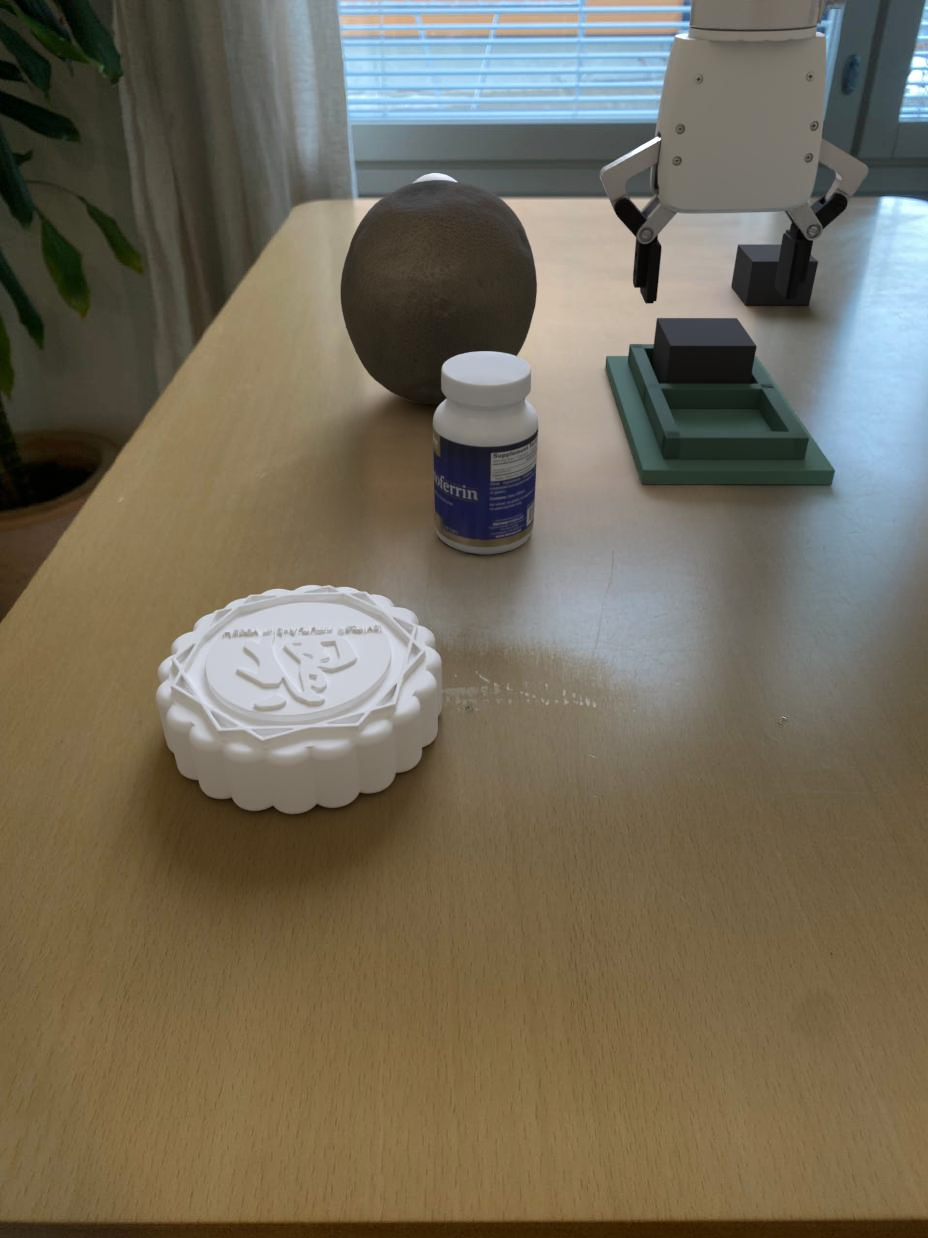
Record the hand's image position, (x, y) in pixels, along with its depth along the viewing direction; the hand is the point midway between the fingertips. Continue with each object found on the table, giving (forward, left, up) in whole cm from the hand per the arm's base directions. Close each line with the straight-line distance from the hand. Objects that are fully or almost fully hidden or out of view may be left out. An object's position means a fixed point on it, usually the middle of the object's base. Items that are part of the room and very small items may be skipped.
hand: (716, 295), depth 67 cm
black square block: (0, 0, -7) cm, 7 cm away
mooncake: (+25, +36, -8) cm, 44 cm away
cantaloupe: (+20, +1, -8) cm, 21 cm away
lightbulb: (+21, -24, -8) cm, 32 cm away
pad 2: (-11, -25, -8) cm, 28 cm away
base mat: (+1, +4, -8) cm, 9 cm away
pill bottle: (+17, +20, -8) cm, 27 cm away
